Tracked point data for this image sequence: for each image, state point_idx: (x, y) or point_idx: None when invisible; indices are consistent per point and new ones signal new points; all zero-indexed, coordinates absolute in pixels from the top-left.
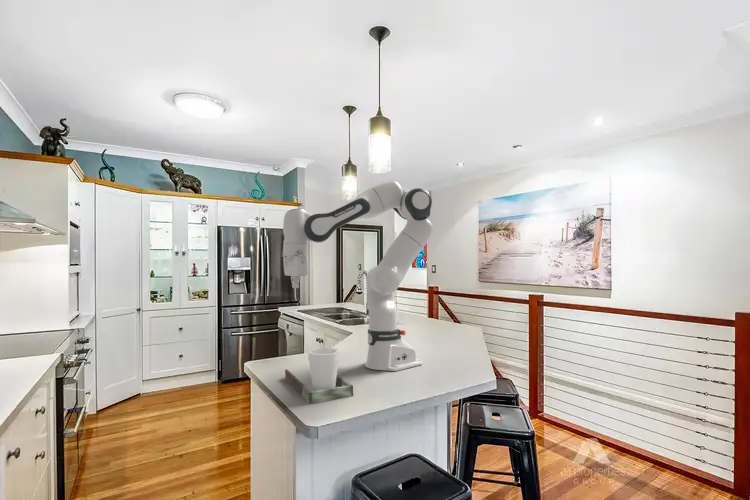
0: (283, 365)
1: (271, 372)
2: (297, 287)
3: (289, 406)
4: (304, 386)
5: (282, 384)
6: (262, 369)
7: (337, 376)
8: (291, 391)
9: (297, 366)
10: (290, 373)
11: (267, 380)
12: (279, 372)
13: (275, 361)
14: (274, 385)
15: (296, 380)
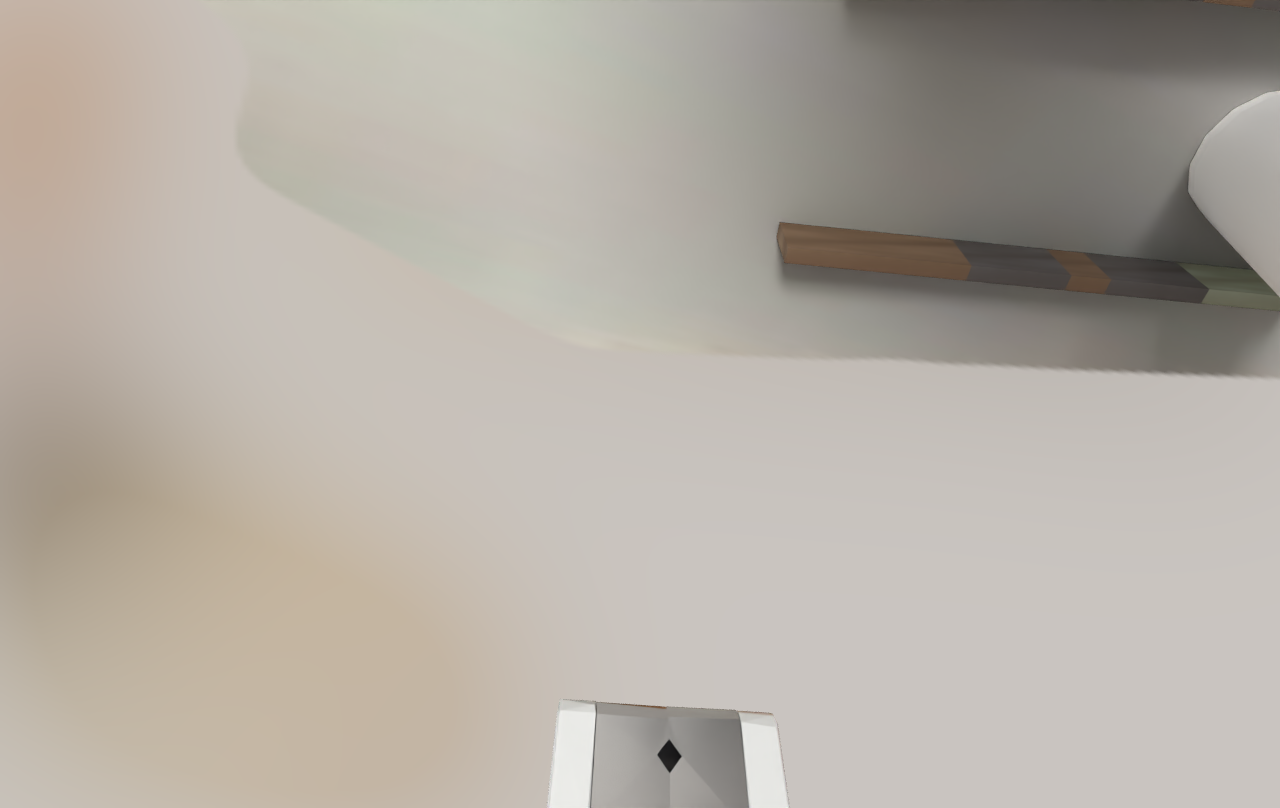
0: (425, 126)
1: (578, 263)
2: (770, 737)
3: (1219, 372)
4: (1215, 295)
5: (881, 290)
6: (467, 288)
7: (1276, 5)
8: (1040, 292)
9: (517, 35)
10: (901, 266)
11: (740, 333)
12: (611, 219)
13: (258, 137)
14: (863, 331)
15: (1071, 290)
